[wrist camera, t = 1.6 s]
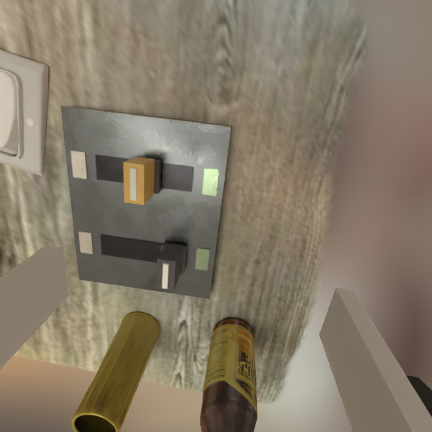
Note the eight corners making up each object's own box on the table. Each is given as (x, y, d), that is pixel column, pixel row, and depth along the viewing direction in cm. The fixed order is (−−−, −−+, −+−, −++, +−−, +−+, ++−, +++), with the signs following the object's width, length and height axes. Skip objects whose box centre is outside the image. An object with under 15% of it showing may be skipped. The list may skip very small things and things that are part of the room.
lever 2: (162, 241, 32) (152, 259, 28) (187, 244, 32) (179, 263, 28) (161, 268, 34) (151, 289, 30) (184, 272, 34) (177, 293, 30)
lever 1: (133, 154, 28) (117, 162, 25) (161, 158, 28) (148, 166, 24) (134, 190, 30) (118, 202, 26) (160, 193, 30) (148, 206, 26)
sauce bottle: (258, 343, 40) (272, 539, 22) (219, 349, 41) (201, 540, 23) (247, 310, 38) (253, 496, 20) (206, 317, 39) (175, 500, 21)
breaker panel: (72, 106, 30) (59, 106, 28) (231, 125, 29) (231, 127, 27) (87, 271, 38) (78, 280, 36) (210, 289, 37) (209, 299, 35)
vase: (156, 310, 40) (114, 411, 26) (163, 341, 42) (128, 448, 29) (118, 311, 40) (58, 409, 27) (127, 341, 43) (76, 446, 29)
